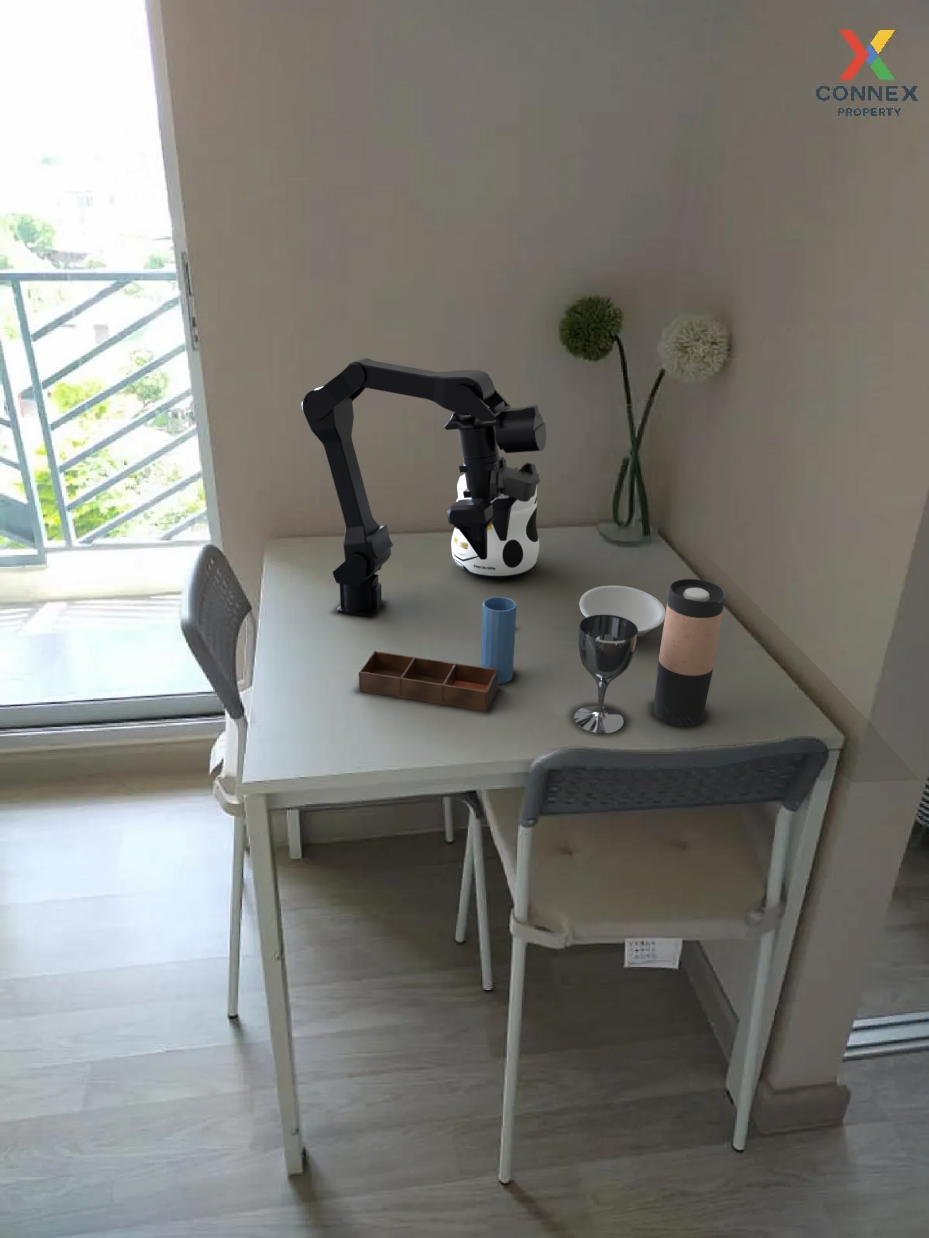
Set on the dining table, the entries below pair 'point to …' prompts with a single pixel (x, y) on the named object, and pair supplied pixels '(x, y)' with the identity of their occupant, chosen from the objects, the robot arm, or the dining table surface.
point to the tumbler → (498, 636)
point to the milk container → (501, 543)
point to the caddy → (429, 681)
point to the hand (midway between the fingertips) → (493, 549)
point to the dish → (624, 606)
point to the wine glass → (604, 665)
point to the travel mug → (688, 651)
